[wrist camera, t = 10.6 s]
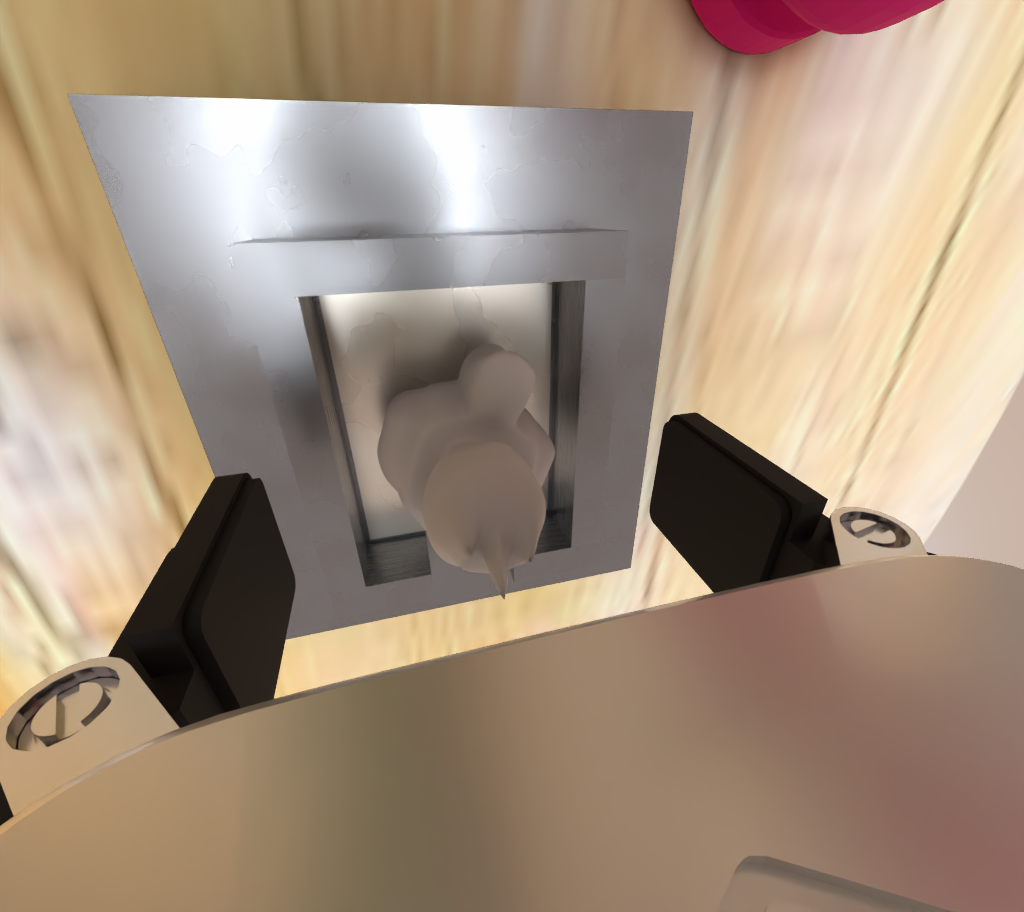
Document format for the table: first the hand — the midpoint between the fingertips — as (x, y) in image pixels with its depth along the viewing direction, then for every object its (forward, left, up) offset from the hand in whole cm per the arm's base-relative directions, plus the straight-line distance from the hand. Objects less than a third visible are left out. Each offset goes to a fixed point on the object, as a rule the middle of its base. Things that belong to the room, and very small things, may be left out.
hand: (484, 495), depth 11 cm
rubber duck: (+1, 0, -6) cm, 6 cm away
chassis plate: (+1, 0, -8) cm, 8 cm away
